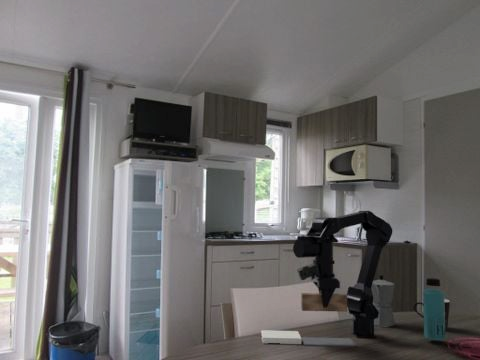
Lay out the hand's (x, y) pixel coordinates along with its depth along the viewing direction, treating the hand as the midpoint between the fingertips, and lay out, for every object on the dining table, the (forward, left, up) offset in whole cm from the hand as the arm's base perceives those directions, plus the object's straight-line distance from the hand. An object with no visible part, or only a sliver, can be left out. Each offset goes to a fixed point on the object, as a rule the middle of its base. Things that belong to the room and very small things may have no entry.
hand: (324, 306), depth 127 cm
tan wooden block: (0, 0, -1) cm, 1 cm away
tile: (+14, -5, -10) cm, 18 cm away
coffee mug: (-44, -20, -11) cm, 49 cm away
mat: (-1, +1, -11) cm, 11 cm away
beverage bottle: (-36, -2, -11) cm, 38 cm away
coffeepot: (-27, -24, -11) cm, 38 cm away
